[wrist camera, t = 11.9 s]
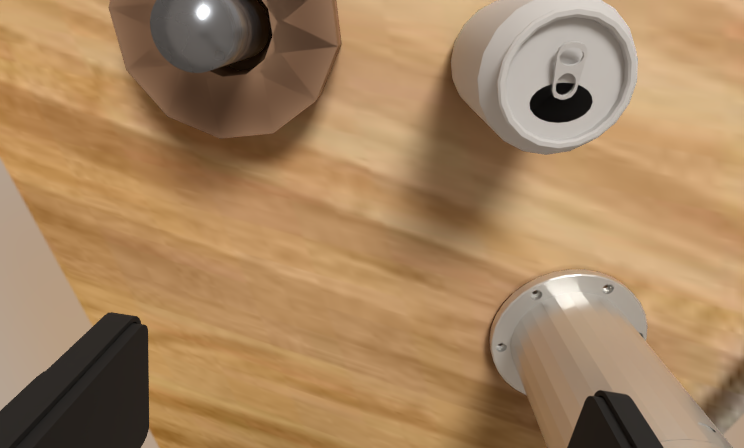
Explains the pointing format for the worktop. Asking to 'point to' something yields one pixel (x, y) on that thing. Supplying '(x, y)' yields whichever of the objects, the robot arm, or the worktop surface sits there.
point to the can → (546, 71)
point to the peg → (208, 32)
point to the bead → (231, 87)
